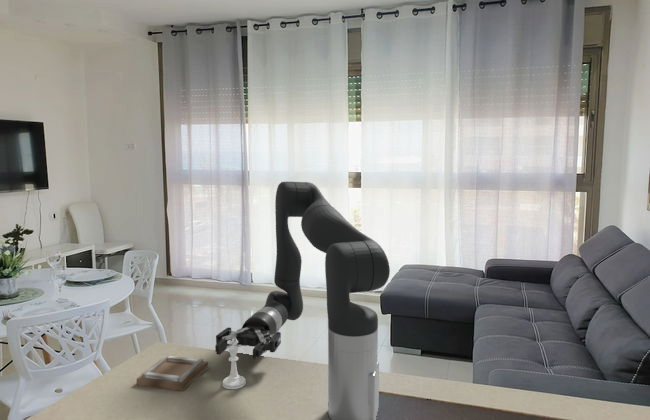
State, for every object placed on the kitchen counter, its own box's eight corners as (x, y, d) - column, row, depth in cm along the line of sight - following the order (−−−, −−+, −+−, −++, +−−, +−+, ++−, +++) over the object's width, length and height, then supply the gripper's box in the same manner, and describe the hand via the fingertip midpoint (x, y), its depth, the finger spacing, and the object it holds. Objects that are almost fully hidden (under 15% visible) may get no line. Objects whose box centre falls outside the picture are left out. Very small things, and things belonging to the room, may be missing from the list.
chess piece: (240, 390, 100) (239, 344, 99) (218, 388, 101) (217, 342, 100) (249, 379, 105) (248, 335, 104) (228, 377, 106) (226, 334, 105)
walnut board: (208, 367, 111) (207, 358, 110) (183, 391, 100) (182, 380, 100) (165, 363, 113) (165, 353, 113) (137, 385, 103) (136, 374, 102)
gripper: (236, 309, 120) (205, 333, 105) (290, 313, 117) (266, 338, 101) (236, 337, 121) (206, 365, 106) (290, 343, 118) (267, 372, 102)
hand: (235, 352), depth 104 cm, fingers open, 8 cm apart
